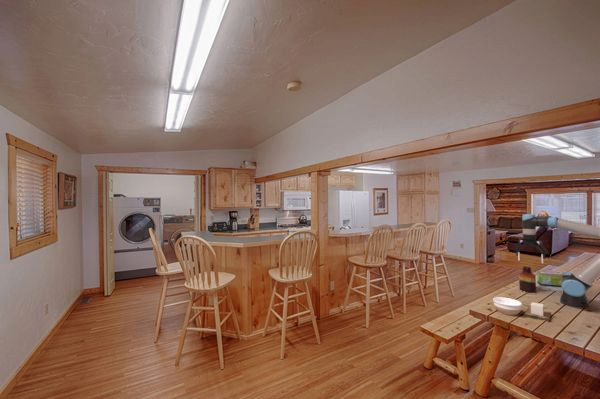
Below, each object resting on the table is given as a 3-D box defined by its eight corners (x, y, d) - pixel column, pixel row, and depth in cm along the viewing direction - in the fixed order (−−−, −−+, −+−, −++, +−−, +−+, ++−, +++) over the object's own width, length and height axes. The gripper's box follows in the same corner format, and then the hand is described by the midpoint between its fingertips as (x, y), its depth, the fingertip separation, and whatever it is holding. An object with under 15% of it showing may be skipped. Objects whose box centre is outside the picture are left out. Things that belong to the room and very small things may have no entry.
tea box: (542, 290, 225) (541, 273, 225) (537, 286, 234) (536, 270, 234) (565, 292, 219) (564, 274, 219) (558, 288, 228) (558, 271, 228)
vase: (523, 288, 231) (522, 265, 231) (538, 291, 221) (537, 267, 222) (516, 290, 227) (515, 266, 227) (532, 293, 217) (531, 269, 217)
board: (551, 315, 177) (551, 312, 177) (549, 322, 168) (548, 318, 168) (527, 310, 186) (527, 307, 186) (524, 316, 177) (524, 313, 177)
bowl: (524, 319, 173) (524, 307, 173) (494, 314, 181) (494, 302, 182) (520, 310, 187) (519, 299, 187) (492, 306, 195) (491, 295, 195)
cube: (544, 313, 176) (543, 304, 176) (543, 316, 172) (542, 307, 172) (532, 310, 180) (531, 302, 181) (531, 313, 176) (530, 304, 177)
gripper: (552, 234, 195) (553, 263, 194) (509, 232, 213) (511, 258, 213) (551, 235, 190) (552, 265, 189) (507, 233, 208) (509, 260, 208)
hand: (530, 261), depth 201 cm, fingers open, 13 cm apart
